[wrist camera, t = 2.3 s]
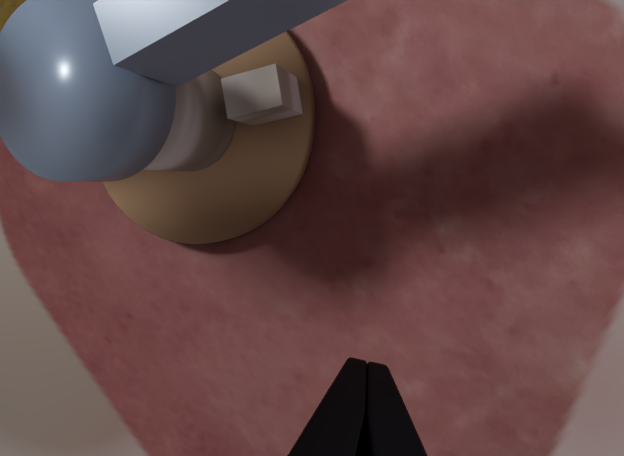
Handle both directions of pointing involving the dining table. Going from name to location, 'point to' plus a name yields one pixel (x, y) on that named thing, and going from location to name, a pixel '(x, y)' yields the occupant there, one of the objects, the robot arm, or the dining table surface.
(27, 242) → the dining table surface
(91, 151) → the orange-banded blue bar
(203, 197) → the tan disc with post
